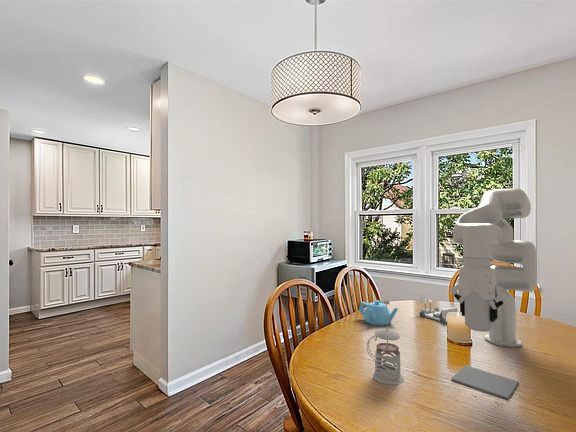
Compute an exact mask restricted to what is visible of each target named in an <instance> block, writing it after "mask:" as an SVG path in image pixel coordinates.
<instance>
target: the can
mask: <svg viewBox="0 0 576 432" xmlns="http://www.w3.org/2000/svg"><path fill="white" fill-rule="evenodd" d="M470 293H471V294H470V295H467V296H466V297H464V305H465V316H464V325H465V326H466V327H467V328H468V329H470V330H472V331H475V332H484V333H485V332H486V333H487V332H489V330H491V329H492V328H493V326H492V322H491V321H490V309H491V305H490V304H489V301H485V300H484V299H483V298H482V297H480V296H479V295H478V294H479V293H472V292H470Z"/></svg>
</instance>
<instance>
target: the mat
mask: <svg viewBox="0 0 576 432" xmlns="http://www.w3.org/2000/svg"><path fill="white" fill-rule="evenodd" d="M451 381H452V382H454V383H457V384H460V385H464V386H467V387H468V388H469V387H470V388H473V389H475V390H478V391H481V392H484V393H487V394H489V395H492V396H496V397H498V398H501V399H504V400H507V401H509V400H510V398H511V396H512V395H513V393H514V391H515V390H516V388H517V386H518V385H519V381H518V380H515V379H512V378H508V377H506V376H502V375H499V374H496V373H492V372H489V371H486V370H483V369H479V368H477V367H476V368H475V367H472V366H470V365H464V366H463V367H461V369H460V370H459V371H458V372H456V373H455V374H454V375H453V376H452V377H451ZM511 394H512V395H511Z"/></svg>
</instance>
